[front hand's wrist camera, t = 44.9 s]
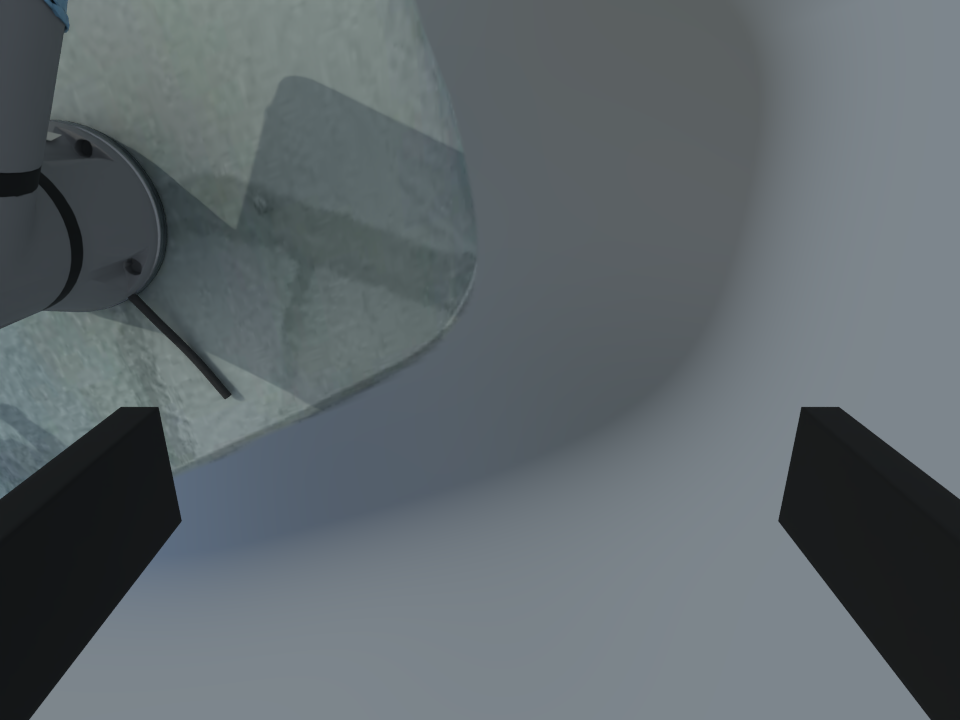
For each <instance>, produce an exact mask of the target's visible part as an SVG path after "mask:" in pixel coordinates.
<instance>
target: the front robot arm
mask: <svg viewBox="0 0 960 720" xmlns="http://www.w3.org/2000/svg"><path fill="white" fill-rule="evenodd" d="M67 3H68V0H0V329H1V328H3V327H5V326H8V325H10V324H12V323H15V322H17V321H19V320H21V319H24V318H26V317H28V316H31V315H33V314H35V313H37V312H40V311H64V312H88V311H95V310H101V309H106V308H109V307H112V306H115V305H117V304H120V303H122V302H124V301H126V300H128V299H129V300H130V301H131V302H132V303H133V304H134V305H135V306H136V307H137V308H138V309H139V310H140V311H141V312H142V313H143V314H144V315H145V316H146V317H147V318H148V319H149V320H150V321H151V322H152V323H153V324H154V325H155V326H156V327H157V328H158V329H159V330H161V331H162V332H163V333H164V334H165V335H166V336H167V337H168V338H169V339H170V340H171V341H172V342H173V343H174V344H175V345H176V346H177V347H178V348H179V349H180V350H181V351H182V352H183V353H184V354H185V355H186V356H187V357H188V358H189V359H190V360H191V361H192V362H193V363H194V364H195V366H196V367H197V368H198V369H199V370H200V371H201V372H202V373H203V374H204V376H205V377H206V378H207V379H208V380H209V381H210V383H211V384H212V385H213V386H214V387H215V388H216V390H217V391H218V392H219V393H220V394H221V395H222V397H223V398H224V399H226V398H228V397H229V396H230V395H231V393H230V392H229V391H228V390H227V389H226V388H225V386H224V385H223V384H222V383H221V382H220V381H219V379H218V378H217V377H216V376H215V375H214V373H213V372H212V371H211V370H210V369H209V368H208V367H207V365H206V364H205V363H204V362H203V361H202V360H201V359H200V358H199V357H198V355H197V354H196V353H195V352H194V351H193V350H192V349H191V348H190V347H189V346H188V345H187V344H186V343H185V342H184V341H183V340H182V339H181V338H180V337H179V336H178V335H177V334H176V333H175V332H174V331H173V330H172V329H171V328H170V327H169V326H168V325H166V324H165V323H164V322H163V321H162V320H161V319H160V318H159V317H158V316H157V315H156V314H155V313H154V312H153V311H152V310H151V309H150V308H149V307H148V306H147V305H146V304H145V302H144V301H143V300H142V299H141V298H140V297H139V296H138V295H137V294H138V293H140V292H141V291H142V290H143V289H144V288H146V287H147V286H148V284H149V283H150V282H151V281H152V280H153V278H154V277H155V275H156V274H157V272H158V270H159V268H160V266H161V264H162V261H163V258H164V254H165V250H166V243H167V226H166V219H165V214H164V210H163V206H162V203H161V200H160V198H159V195H158V193H157V191H156V189H155V187H154V185H153V183H152V181H151V180H150V178H149V177H148V175H147V174H146V172H145V171H144V169H143V168H142V167H141V166H140V164H139V163H138V162H137V161H136V160H135V159H134V158H133V157H132V156H131V155H130V154H129V153H128V152H127V151H126V150H125V149H124V148H123V147H121V146H120V145H119V144H118V143H116V142H115V141H113V140H112V139H110V138H109V137H107V136H106V135H104V134H102V133H100V132H98V131H96V130H94V129H92V128H89V127H87V126H84V125H81V124H77V123H73V122H69V121H61V120H50V114H51V108H52V102H53V96H54V90H55V83H56V77H57V71H58V65H59V59H60V53H61V47H62V41H63V34H64V33H66V32H67V31H68V30H69V26H70V25H69V19H68V16H67V14H66V12H67ZM181 521H182V520H181V515H180V510H179V506H178V501H177V496H176V491H175V486H174V481H173V476H172V471H171V466H170V461H169V456H168V452H167V447H166V442H165V437H164V432H163V427H162V422H161V417H160V412H159V407H120V408H119V409H118V410H116V411H115V412H114V413H113V414H111V415H110V416H109V417H107V418H106V419H105V420H103V421H102V422H101V423H99V424H98V425H97V426H96V427H94V428H93V429H92V430H90V431H89V432H88V433H86V434H85V435H84V436H82V437H81V438H80V439H79V440H77V441H76V442H75V443H73V444H72V445H71V446H69V447H68V448H67V449H65V450H64V451H63V452H62V453H60V454H59V455H58V456H56V457H55V458H54V459H52V460H51V461H50V462H48V463H47V464H46V465H45V466H43V467H42V468H41V469H39V470H38V471H37V472H35V473H34V474H33V475H31V476H30V477H29V478H28V479H26V480H25V481H24V482H22V483H21V484H20V485H18V486H17V487H16V488H14V489H13V490H12V491H10V492H9V493H8V494H7V495H5V496H4V497H3V498H1V499H0V720H29V719H30V718H31V717H32V715H33V714H34V713H35V711H36V710H37V709H38V707H39V706H40V705H41V704H42V702H43V701H44V700H45V698H46V697H47V696H48V694H49V693H50V692H51V691H52V689H53V688H54V687H55V685H56V684H57V683H58V681H59V680H60V679H61V677H62V676H63V675H64V674H65V672H66V671H67V670H68V668H69V667H70V666H71V665H72V663H73V662H74V661H75V659H76V658H77V657H78V655H79V654H80V653H81V652H82V650H83V649H84V648H85V646H86V645H87V644H88V642H89V641H90V640H91V638H92V637H93V636H94V635H95V633H96V632H97V631H98V629H99V628H100V627H101V625H102V624H103V623H104V622H105V620H106V619H107V618H108V616H109V615H110V614H111V612H112V611H113V610H114V609H115V607H116V606H117V605H118V603H119V602H120V601H121V599H122V598H123V597H124V596H125V594H126V593H127V592H128V590H129V589H130V588H131V586H132V585H133V584H134V582H135V581H136V580H137V579H138V577H139V576H140V575H141V573H142V572H143V571H144V569H145V568H146V567H147V566H148V564H149V563H150V562H151V560H152V559H153V558H154V556H155V555H156V554H157V553H158V551H159V550H160V549H161V547H162V546H163V545H164V543H165V542H166V541H167V540H168V538H169V537H170V536H171V534H172V533H173V532H174V530H175V529H176V528H177V526H178V525H179V524H180V523H181ZM778 521H779V523H780V524H781V525H782V526H783V528H784V529H785V530H786V532H787V533H788V534H789V536H790V537H791V538H792V539H793V541H794V542H795V543H796V545H797V546H798V547H799V549H800V550H801V551H802V553H803V554H804V555H805V556H806V558H807V559H808V560H809V562H810V563H811V564H812V566H813V567H814V568H815V569H816V571H817V572H818V573H819V575H820V576H821V577H822V579H823V580H824V581H825V582H826V584H827V585H828V586H829V588H830V589H831V590H832V592H833V593H834V594H835V596H836V597H837V598H838V599H839V601H840V602H841V603H842V604H843V606H844V607H845V609H846V610H847V611H848V612H849V614H850V615H851V616H852V618H853V619H854V620H855V622H856V623H857V624H858V625H859V627H860V628H861V629H862V631H863V632H864V633H865V635H866V636H867V637H868V638H869V640H870V641H871V642H872V644H873V645H874V646H875V648H876V649H877V650H878V652H879V653H880V654H881V655H882V657H883V658H884V659H885V661H886V662H887V663H888V665H889V666H890V667H891V668H892V670H893V671H894V672H895V674H896V675H897V676H898V678H899V679H900V680H901V681H902V683H903V684H904V685H905V687H906V688H907V689H908V691H909V692H910V693H911V694H912V696H913V697H914V698H915V700H916V701H917V702H918V704H919V705H920V706H921V708H922V709H923V710H924V711H925V713H926V714H927V715H928V717H929V718H930V719H931V720H960V499H959V498H957V497H956V496H955V495H953V494H952V493H951V492H949V491H948V490H947V489H946V488H944V487H943V486H942V485H940V484H939V483H938V482H936V481H935V480H934V479H932V478H931V477H930V476H929V475H927V474H926V473H925V472H923V471H922V470H921V469H919V468H918V467H917V466H915V465H914V464H913V463H912V462H910V461H909V460H908V459H906V458H905V457H904V456H902V455H901V454H900V453H898V452H897V451H896V450H895V449H893V448H892V447H891V446H889V445H888V444H887V443H885V442H884V441H883V440H881V439H880V438H879V437H878V436H876V435H875V434H874V433H872V432H871V431H870V430H868V429H867V428H866V427H864V426H863V425H862V424H861V423H859V422H858V421H857V420H855V419H854V418H853V417H851V416H850V415H849V414H847V413H846V412H845V411H844V410H842V409H841V408H840V407H801V412H800V417H799V422H798V427H797V432H796V437H795V442H794V447H793V451H792V457H791V462H790V466H789V471H788V476H787V481H786V486H785V491H784V496H783V501H782V506H781V510H780V515H779V520H778Z"/></svg>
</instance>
